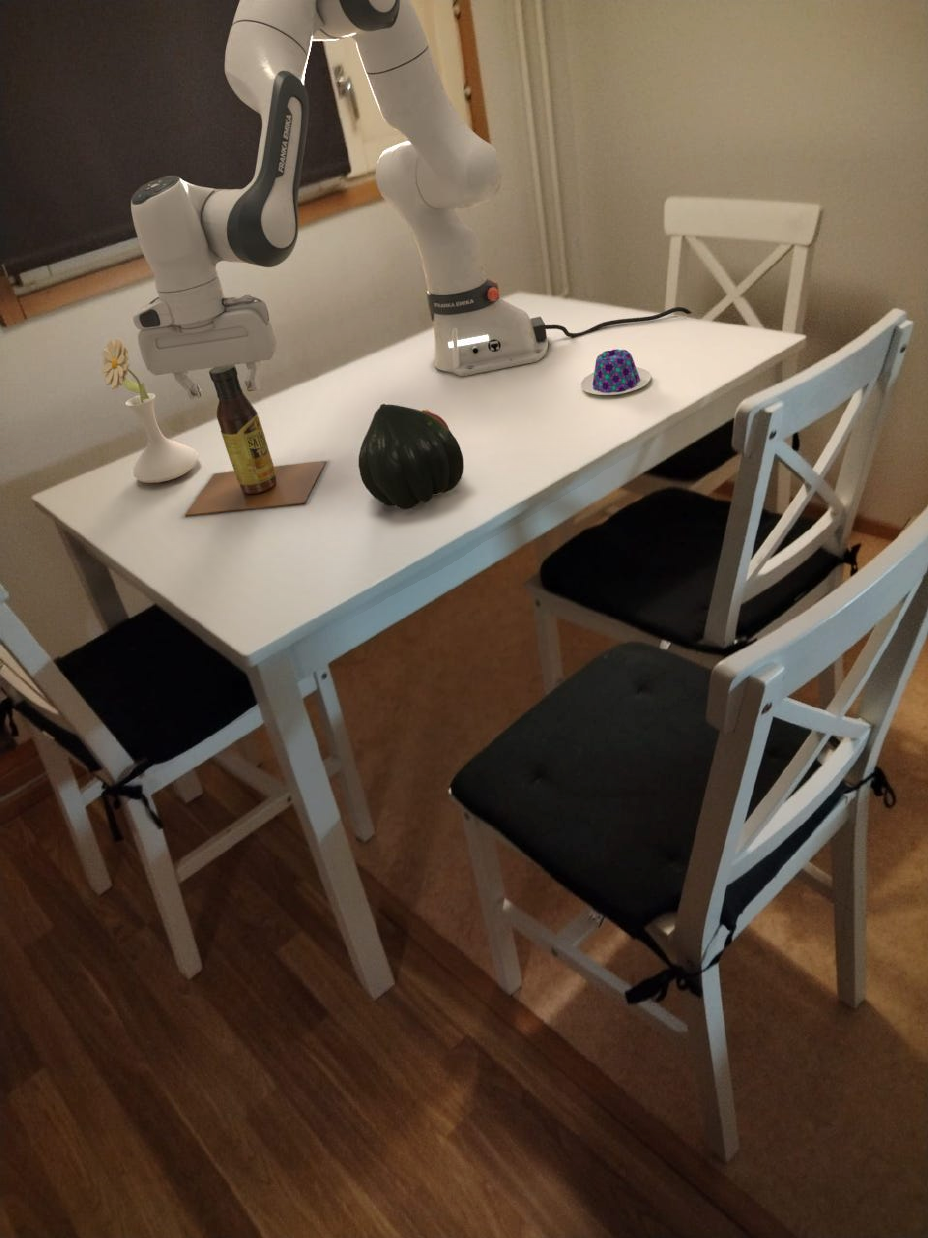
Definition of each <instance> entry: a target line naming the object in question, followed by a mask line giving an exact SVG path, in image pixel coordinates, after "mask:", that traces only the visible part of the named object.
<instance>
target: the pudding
mask: <svg viewBox="0 0 928 1238" xmlns="http://www.w3.org/2000/svg"><path fill="white" fill-rule="evenodd" d="M651 379H652V374H651V373H650V372H649V371H648V370H647V369H644V368H642V367H637V366H636V363H635V360H634V357H633V355H632V354H631V352H630V351H628V350H626V349H617V348H616V349H611V350H606V351H603V352H602V353H599V355H597V357H596V359H595V364H594V372H591V373H590V374H588V375H587V376H585V377H584V378H583V379H582V380H581V382H580V388H581V389H582V390H583V391H584V392H585V393H586V392H587V393H589V394H593V395H600V396H613V395H622V394H626V393H630V392H633V391H636V390H639V389H641V388H643V387H644V386H646V385H647V384H648V383H649V382H650V381H651Z"/></svg>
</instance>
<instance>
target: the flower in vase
mask: <svg viewBox="0 0 928 1238" xmlns="http://www.w3.org/2000/svg"><path fill="white" fill-rule="evenodd" d="M102 356H103V357H102V362H103V366H102V367H101V373H103V374H105V375H104V381H105V384H106V386H109V385H110V388H111V390H114V389H118V388H119V386H120V387H121V386H122V385H123V386H124V388H126V389H127V390H129V391H132V392H134V393H137V394H138V395H135V396H132V397H130V398H129V399H127V400H126V401H125V406H126V407H128V408H129V409H131V410H132V411H133V412H134V413H135V414H136V415H137V417H138V419H139V421H140V422H141V424H142V426H143V428H144V430H145V434H146V436H147V444H146V447H145V448H144V450H142V453H141V454H140V456H139V457H138V459H137V460H136V462H135V464H134V467H133V476H134V478H135V479H137V480H138V481H140V482H142V483H149V484H153V483H164V482H167V481H171V480H175V479H176V478H179V477H181V476H183V475H185V474H186V473H188V472H189V471H190V470H192V469H194V467H195V466H196V465H197V463H198V462H199V461H198V460H199V453H198V452H197V450H195V449H194V448H193V447H191V446H189V445H186V444H184V443H180V442H178V441H174V440H171V439H169V438H167V437H165V436H164V435H163V433H162V431H161V429H160V428H159V425H158V422H157V419H156V415H155V409H154V407H155V406H154V403H155V399H156V394H155V393H152V392H148V393H147V391H146V386H145V383H144V382H142V383H141V381H140V380H139V378H138V377H137V375H135V373H134V372H133V371H132V370H131V369H130V361H129V358H130V357H129V348H128V347H126V345H125V342H124V341H122V339H121V338H119V337H117V336H116V337H115V338H114V340H113V339H111V338H110V339H109V342H107V343H106V349H105V348H104V349H103V350H102ZM128 373H129V374H130V375H131V376H133V378H134V379H135V381H136V382H135V381H132V380H131V379H129V378H127V377H126V376H127V375H128Z"/></svg>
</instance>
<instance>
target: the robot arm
mask: <svg viewBox="0 0 928 1238" xmlns="http://www.w3.org/2000/svg"><path fill="white" fill-rule="evenodd" d="M424 30H425V29H424V27H423V25H422V23H421V20H420V18H419V15H418V13H417V11H416V9H415V6H414V5H413V2H412V1H411V0H239V2H238V4H237V8H236V11H235V14H234V16H233V20H232V24H231V27H230V31H229V35H228V39H227V43H226V47H225V55H224V74H225V77H226V79H227V82H228V84H229V87H230V88H231V90H232V92H233V93H234V94H235V95H236V96H237V98H238V99H239V100H240V101H241V102H242V103H244V104H245V105H246V106H248V107H249V108H250V109H252V110H253V111H255V112H256V113H258V114H259V115H260V118H261V133H260V138H259V145H258V153H257V159H256V166H255V172H254V176H253V178H252V180H251V181H250V182H249V183H248V184H247V185H246V186H245V187H243V188H233V189H230V188H213V187H206V186H200V185H196V184H193V183H190V182H188V181H186V180H183V179H182V178H181V177H179V176H177V175H166V176H162V177H159V178H157V179H154V180H151V181H148V182H146V183H145V184H143V185H142V186H140V187H139V188H138V189H137V190H136V191H135V192H134V193H133V195H132V197H131V200H130V210H131V216H132V221H133V225H134V226H133V227H134V229H135V233H136V236H137V238H138V242H139V245H140V248H141V251H142V254H143V257H144V259H145V261H146V262H147V265H149V267H150V268H151V270H152V271H151V272H152V273H153V277H154V281H155V282H154V284H155V289H156V292H157V295H158V296H157V297H155V298H154V299H152V300H151V301H150V302H148V303H146V304H145V305H144V306H142V307H141V308H140V309H139V310H138V311H137V312H136V313H135V314H134V315H133V316H132V321H133V324H134V326H135V327H136V328H137V329H138V330H139V332H138V334H137V343H138V346H139V350H140V354H141V358H142V360H143V363H144V365H145V368H146V370H147V371H149V373H150V374H152V375H153V376H163V375H170V374H173V377H174V379H175V381H176V382H177V383H178V384H179V385H180V386H182V387H183V388H184V389H185V390H186V392H187V395H188V397H189V399H190V400H195V399H200V398H201V397H203V390H202V389H201V385H200V383H194V382H193V381H192V379H190V377H189V376H187V375H188V374H189V372H193V371H199V370H205V369H212V368H214V367H221V366H228V365H235V366H236V365H241V364H245V366H246V368H247V370H251V371H250V376H248V377H246V379H245V380H244V384H245V386H246V390H247V392H256V391H257V392H258V391H259V390H260V388H261V385H260V381H259V377H258V376H259V371H260V367H261V362H264V361H270V360H272V359H273V358H274V357H275V356H276V354H277V352H278V350H279V348H280V347H279V346H280V344H279V340H278V338H277V335H276V332H275V330H274V327H273V325H272V323H271V321H270V313H269V310H268V307H267V304H266V302H265V301H264V300H263V299H261V298H260V297H257V296H255V295H254V294H245V295H241V296H230V297H226V296H225V292H224V289H223V287H222V283H221V281H220V277H219V273H218V271H217V268H216V267H217V264H218V263H221V262H227V263H240V264H241V263H242V264H247V265H248V264H249V265H252V266H253V265H254V266H258V267H263V268H273V267H277V266H279V265H281V264H282V263H284V262H285V261H286V260H287V259H289V257H290V256H291V255H292V252H294V251H293V250H294V249H295V246H296V243H297V240H298V236H299V210H298V207H299V206H298V204H299V190H300V182H301V175H302V168H303V161H304V155H305V147H306V141H307V134H308V126H309V114H310V100H309V94H308V91H307V89H306V86H305V74H306V69H307V65H308V60H309V56H310V53H311V48H312V44H313V43H315V42H321V41H322V42H327V41H337V40H343V39H345V38H347V37H351V38H352V39H353V40H354V42H355V44H356V49H357V52H358V56H359V58H360V61H361V64H362V67H363V70H364V72H365V75H366V78H367V80H368V83H369V86H370V88H371V91H372V94H373V96H374V98H375V102H376V104H377V107H378V110H379V112H380V115H381V117H382V119H383V120H384V122H385V123H386V124H387V125H388V126H389V127H391V128H392V129H394V130H395V131H397V132H398V133H400V134H401V135H402V136H403V137H404V138H405V139H406V140H407V141H403V142H402V143H399V144H396V145H393V146H392V147H389V148H386V149H385V150H384V151H382V153H381V154H380V156H379V158H378V160H377V162H376V167H375V183H376V187H377V189H378V192H379V194H380V195H381V197H382V198H383V199H384V200H385V201H386V202H387V203H388V204H389V205H391V206H392V207H393V208H394V209H395V210H396V211H397V212H398V214H399V215H400V216H401V218H402V219H403V221H404V223H405V224H406V226H407V227H408V229H409V231H410V233H411V236H412V237H413V240H414V242H415V243H416V246H417V249H418V251H419V255H420V260H421V263H422V269H423V272H424V276H425V282H426V286H427V291H426V292H425V293H426V303H427V307H428V312H429V316H430V319H431V321H432V324H433V333H434V334H433V335H434V358H433V366H434V367H435V368H436V369H438V370H440V371H443V372H449V373H453V374H454V375H456V376H460V377H466V376H471V375H476V374H482V373H487V372H491V371H496V370H501V369H507V368H511V367H516V366H522V365H526V364H527V365H528V364H531V363H535V362H538V361H540V360H541V359H543V358H544V356H545V355H546V354H547V352H548V348H549V342H548V335H547V330H560V331H562V332H563V334H564V335H565V336H566V337H569V338H578V337H580V336H584V335H587V334H590V333H592V332H595V331H597V330H600V329H602V328H605V327H609V326H613V325H621V324H631V323H641V322H642V323H643V322H649V321H656V320H658V319H662V318H664V317H666V316H668V315H670V314H674V313H676V312H681V313H685V314H686V315H690V314H692V311H691V310H690V309H689V308H686V307H683V306H677V307H676V306H675V307H672V308H670V309H667V310H665V311H663V312H660V313H658V314H657V313H656V314H654V315H649V316H641V317H631V318H630V317H629V318H619V319H614V320H607V321H603V322H601V323H599V324H596V325H594V326H592V327H590V328H588V329H586V330H584V331H580V332H570V331H569V330H568V329H567V327H566V326H564V325H561V324H546V323H545V322H544V319H543V318H542V317H541V316H537V317H531V318H530V316H529V314H528V313H527V311H524V310H523V309H521V308H520V307H517V306H516V305H513V304H511V303H509V302H508V301H506V300H504V299H503V298H500V290H499V284H498V281H497V279H494V281H493V280H491V279H489V278H487V277H486V272H485V264H484V258H483V252H482V246H481V241H480V239H479V237H478V234H477V233H475V231H474V230H473V229H471V228H470V227H469V226H468V225H466V224H465V223H464V222H463V220H462V219H461V217H460V216H459V215H458V213H457V211H456V209H470V208H474V207H478V206H480V205H484V204H487V203H489V202H491V201H492V200H493V199H495V198H496V196H497V195H498V192H499V190H500V188H501V186H502V185H501V184H502V181H503V164H502V161H501V158H500V155H499V153H498V151H497V150H496V148H495V147H494V146H493V145H492V144H491V143H490V142H488V141H486V140H484V139H483V138H481V137H480V136H479V135H478V134H477V133H475V132H474V131H473V129H472V128H471V127H470V126H469V125H468V124H467V123H466V121H464V119H463V117H462V116H461V115H460V114H459V112H458V111H457V109H456V108H455V106H454V105H453V103H452V101H451V100H450V98H449V96H448V94H447V92H446V89H445V88H444V85H443V82H442V79H441V77H440V74H439V72H438V69H437V66H436V62H435V60H434V57H433V54H432V51H431V49H430V44H429V41H428V39H427V36H426V33H425V31H424Z"/></svg>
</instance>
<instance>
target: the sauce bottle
mask: <svg viewBox="0 0 928 1238" xmlns="http://www.w3.org/2000/svg"><path fill="white" fill-rule="evenodd" d="M208 374H209V377H210V380H211V381H212V382H213V386H214V388H215V391H216V396H217V398H218V405H217V408H216V419H217V422H218V425H219V428H220V433H221V436H222V440H223V442H224V446H225V448H226V451H227V454H228V458H229V460H230V463H231V466H232V469H233V471H234V473H235V476H236V478H237V481H238V483H239V484H240V487H241V490H242V491H243V492H244V493H246V494H258V493H261V492H264V491H267V490H269V489H270V488H272V487H273V486H274V485H275V484H276V475H275V473H276V471H275V468H274V467H275V464H274V462H273V459H272V455H271V452H270V449H269V446H268V443H267V439H266V436H265V433H264V429H263V425H262V423H261V420H260V416H259V414H258V411H257V410H256V408H255V407H254V406H253V404H252V403H251V402H250V400H249V399H248V398H247V396H246V395H245V393H244V392H243V389H242V387H241V384H240V381H239V378H238V370H237V367H236V365H228V366H221V367H214V368H210V370H209V371H208Z"/></svg>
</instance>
